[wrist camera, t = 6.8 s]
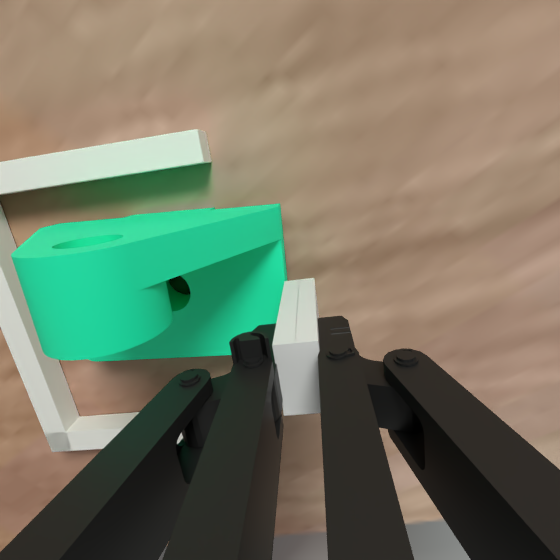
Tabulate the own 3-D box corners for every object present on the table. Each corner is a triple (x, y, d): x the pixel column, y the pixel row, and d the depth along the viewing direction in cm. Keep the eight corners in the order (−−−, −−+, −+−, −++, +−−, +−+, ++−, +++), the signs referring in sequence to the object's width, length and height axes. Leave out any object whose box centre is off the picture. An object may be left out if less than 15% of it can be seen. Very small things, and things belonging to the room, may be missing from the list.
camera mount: (105, 340, 23) (-49, 474, 13) (72, 220, 20) (-144, 272, 11) (293, 330, 21) (281, 468, 12) (281, 201, 19) (254, 240, 9)
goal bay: (205, 131, 18) (197, 128, 17) (261, 422, 24) (258, 438, 22) (-37, 172, 20) (-64, 172, 18) (66, 435, 25) (52, 452, 24)
